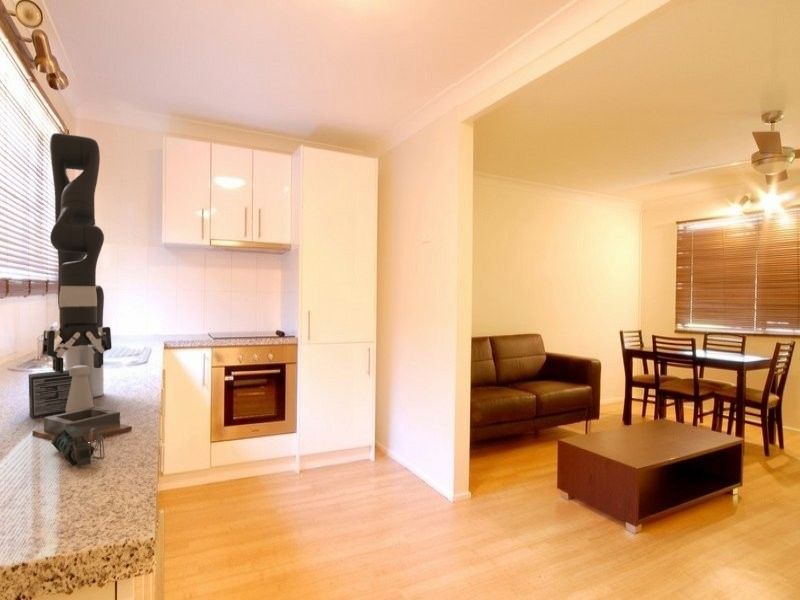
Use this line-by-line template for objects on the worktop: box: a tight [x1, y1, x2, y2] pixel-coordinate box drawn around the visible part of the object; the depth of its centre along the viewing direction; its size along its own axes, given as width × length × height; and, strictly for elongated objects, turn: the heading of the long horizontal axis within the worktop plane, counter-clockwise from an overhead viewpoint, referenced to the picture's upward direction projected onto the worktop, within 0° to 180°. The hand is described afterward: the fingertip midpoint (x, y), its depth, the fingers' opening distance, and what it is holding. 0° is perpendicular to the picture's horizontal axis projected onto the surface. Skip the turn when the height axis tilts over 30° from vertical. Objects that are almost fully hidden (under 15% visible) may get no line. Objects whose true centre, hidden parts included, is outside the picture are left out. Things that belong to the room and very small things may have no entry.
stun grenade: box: [50, 426, 105, 469], centre depth 84 cm, size 6×6×14 cm
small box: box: [28, 369, 72, 420], centre depth 115 cm, size 11×6×10 cm, turn 135°
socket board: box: [32, 406, 133, 442], centre depth 98 cm, size 16×12×4 cm
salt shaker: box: [65, 365, 95, 413], centre depth 109 cm, size 6×6×13 cm
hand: (78, 370), depth 109 cm, fingers open, 8 cm apart
